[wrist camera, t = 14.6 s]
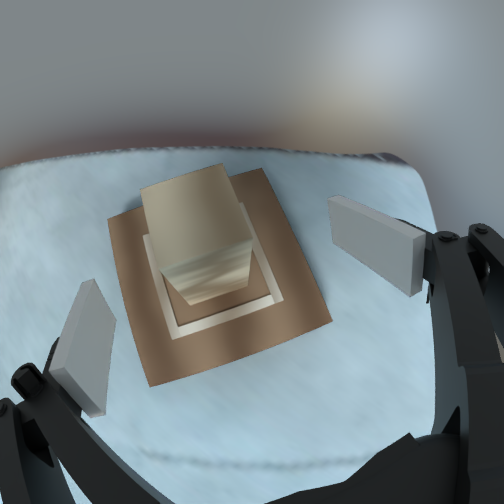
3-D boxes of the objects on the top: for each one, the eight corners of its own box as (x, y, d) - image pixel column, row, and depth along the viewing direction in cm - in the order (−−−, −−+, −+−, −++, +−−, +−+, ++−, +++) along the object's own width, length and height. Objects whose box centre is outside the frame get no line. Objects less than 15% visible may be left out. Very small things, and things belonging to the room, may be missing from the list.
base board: (159, 384, 24) (149, 387, 21) (118, 231, 29) (106, 218, 26) (323, 325, 26) (333, 320, 23) (260, 184, 31) (262, 166, 28)
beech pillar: (190, 305, 24) (158, 268, 14) (173, 251, 25) (139, 189, 16) (247, 285, 24) (252, 237, 15) (227, 233, 26) (222, 163, 17)
